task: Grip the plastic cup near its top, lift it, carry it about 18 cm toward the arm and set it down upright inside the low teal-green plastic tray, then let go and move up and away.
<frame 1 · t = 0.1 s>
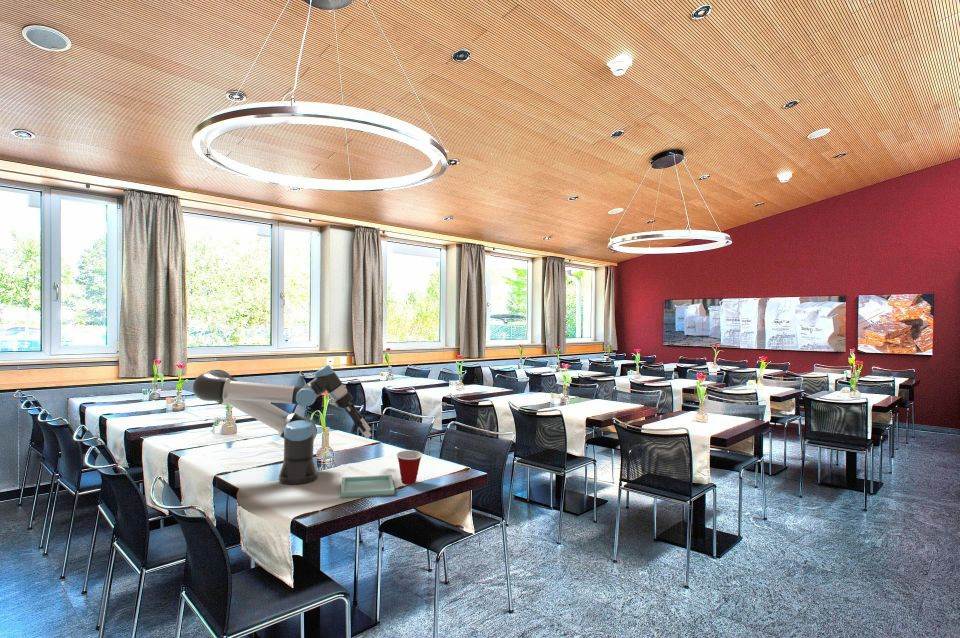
hand: (368, 433, 240), 15 cm above the table, tool tilted 35°, fingers open, 13 cm apart
tray: (367, 488, 210), on the table
plastic cup: (408, 482, 219), on the table
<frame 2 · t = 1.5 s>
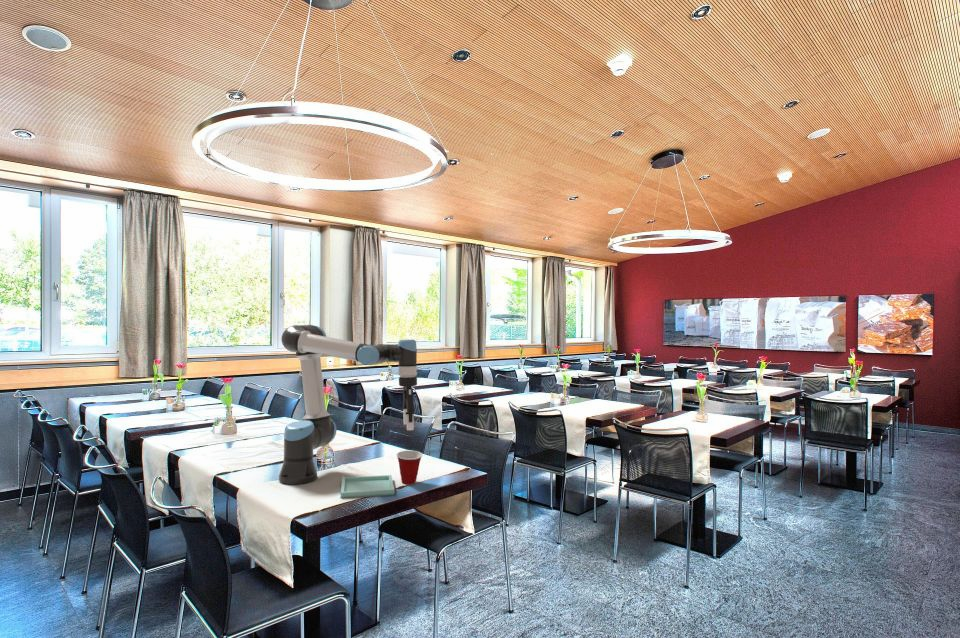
hand: (408, 427, 221), 23 cm above the table, tool pointing down, fingers open, 13 cm apart
nothing on the table moved.
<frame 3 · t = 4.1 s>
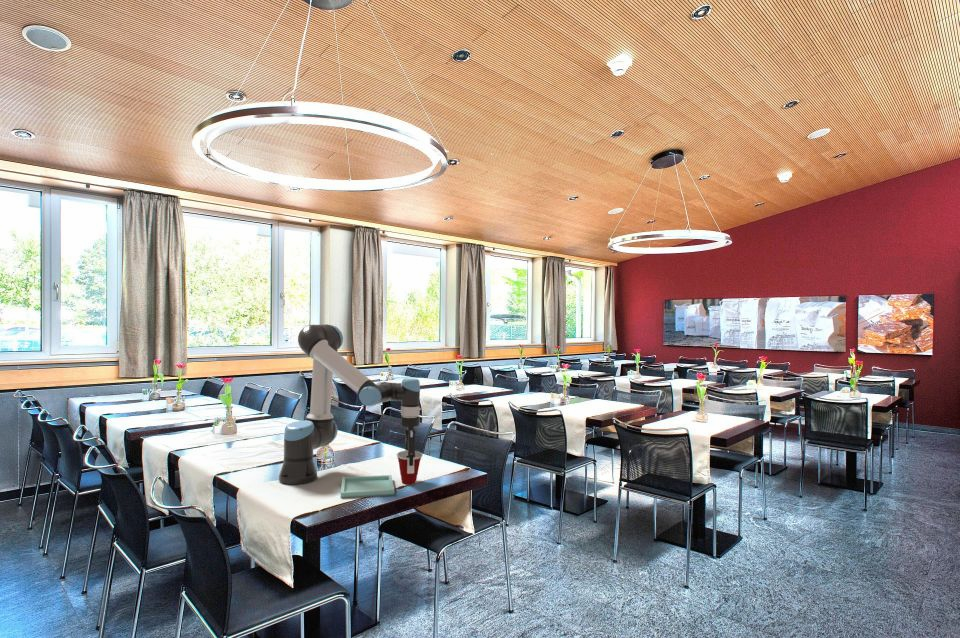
hand: (409, 469, 219), 5 cm above the table, tool pointing down, fingers closed on plastic cup, 11 cm apart
plastic cup: (409, 482, 219), on the table, touching gripper
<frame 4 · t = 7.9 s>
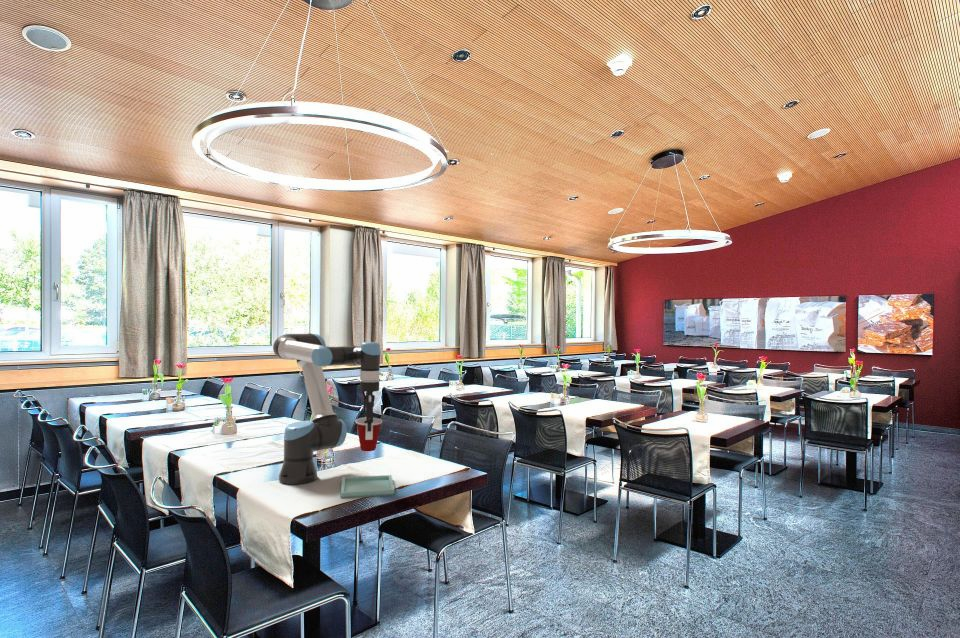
hand: (368, 436, 211), 21 cm above the table, tool pointing down, fingers closed on plastic cup, 11 cm apart
plastic cup: (368, 450, 211), point 15 cm above the table, touching gripper
when the fingers open (6 cm above the table, at t = 11.6 s): plastic cup stays where it is, resting on tray.
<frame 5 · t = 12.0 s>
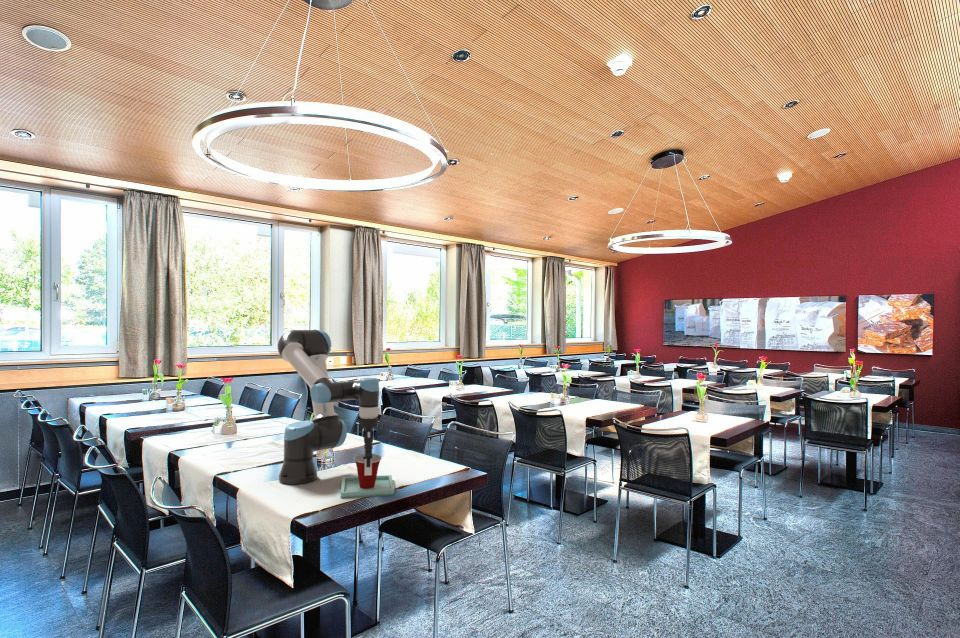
hand: (367, 470, 210), 7 cm above the table, tool pointing down, fingers open, 13 cm apart
plastic cup: (367, 487, 210), resting on tray
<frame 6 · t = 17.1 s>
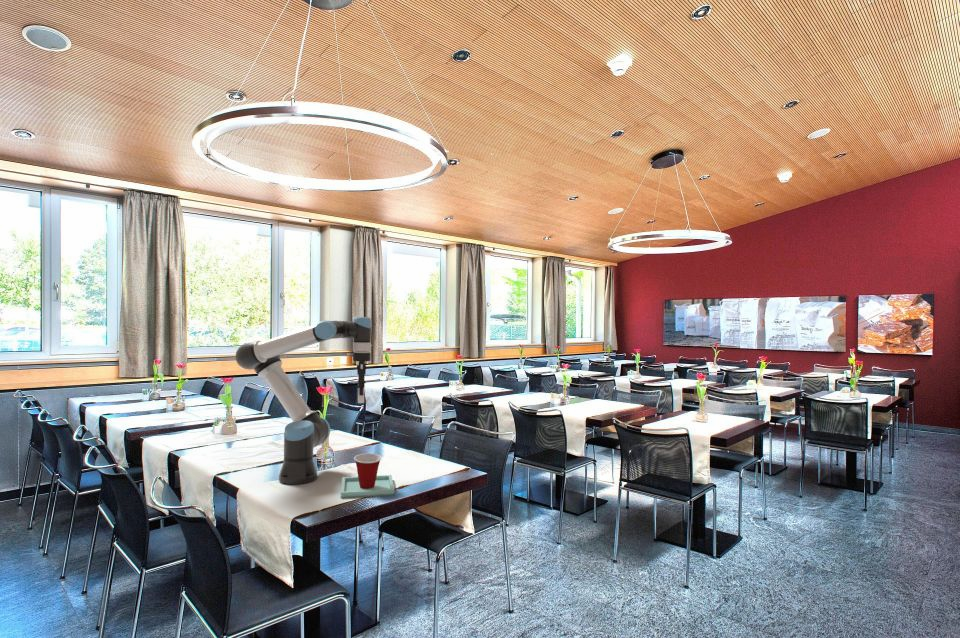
hand: (360, 400, 231), 32 cm above the table, tool pointing down, fingers open, 13 cm apart
nothing on the table moved.
at the end: plastic cup inside the target area on the tray (0.1 cm from its centre), point 0.4 cm above the tray's base; plastic cup tilted 0°; the gripper is holding nothing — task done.
